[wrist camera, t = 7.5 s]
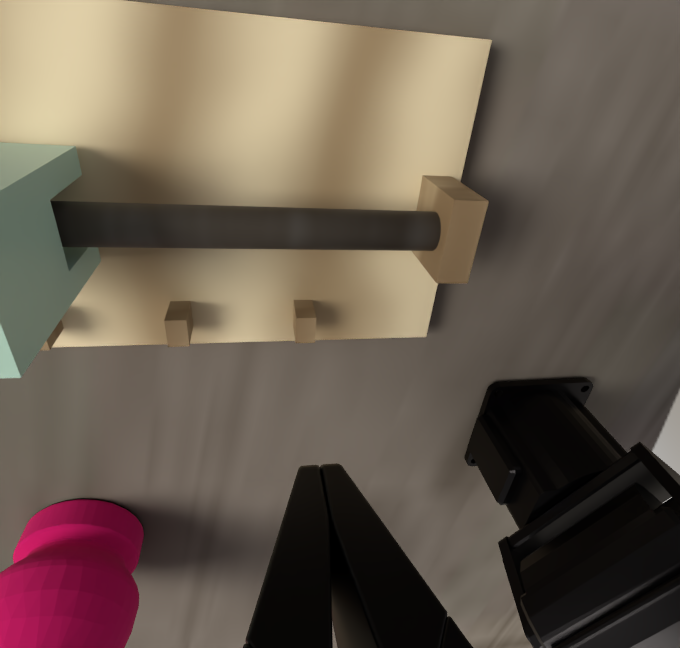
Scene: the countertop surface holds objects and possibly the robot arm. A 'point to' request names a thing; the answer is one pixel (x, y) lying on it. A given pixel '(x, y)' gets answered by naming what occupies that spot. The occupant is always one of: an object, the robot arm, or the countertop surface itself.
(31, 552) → the pepper mill
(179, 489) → the countertop surface
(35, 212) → the sleeve
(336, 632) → the robot arm
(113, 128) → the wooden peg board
